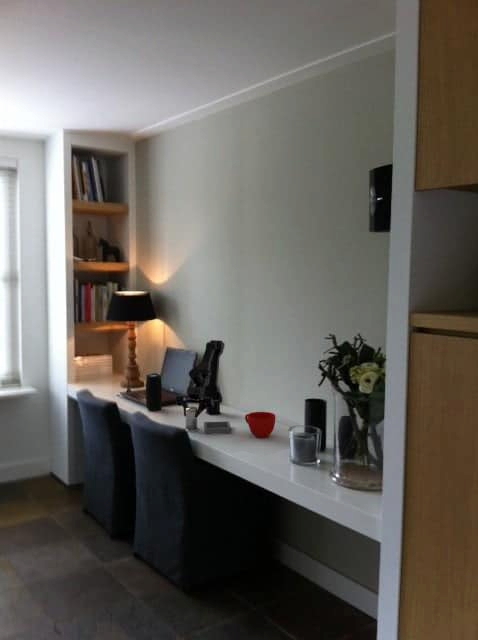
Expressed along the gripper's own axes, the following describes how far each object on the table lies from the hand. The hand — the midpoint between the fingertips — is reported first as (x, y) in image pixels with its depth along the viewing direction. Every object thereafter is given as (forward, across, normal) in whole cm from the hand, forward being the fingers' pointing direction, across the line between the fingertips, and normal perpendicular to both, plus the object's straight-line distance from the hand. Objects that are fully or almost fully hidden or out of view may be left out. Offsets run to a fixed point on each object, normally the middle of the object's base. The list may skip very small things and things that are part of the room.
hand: (190, 416), depth 295 cm
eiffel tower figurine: (-36, -62, +48) cm, 86 cm away
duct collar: (+2, +12, +8) cm, 15 cm away
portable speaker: (-19, -34, +29) cm, 48 cm away
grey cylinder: (+4, 0, +6) cm, 7 cm away
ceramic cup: (+4, +33, +7) cm, 34 cm away
